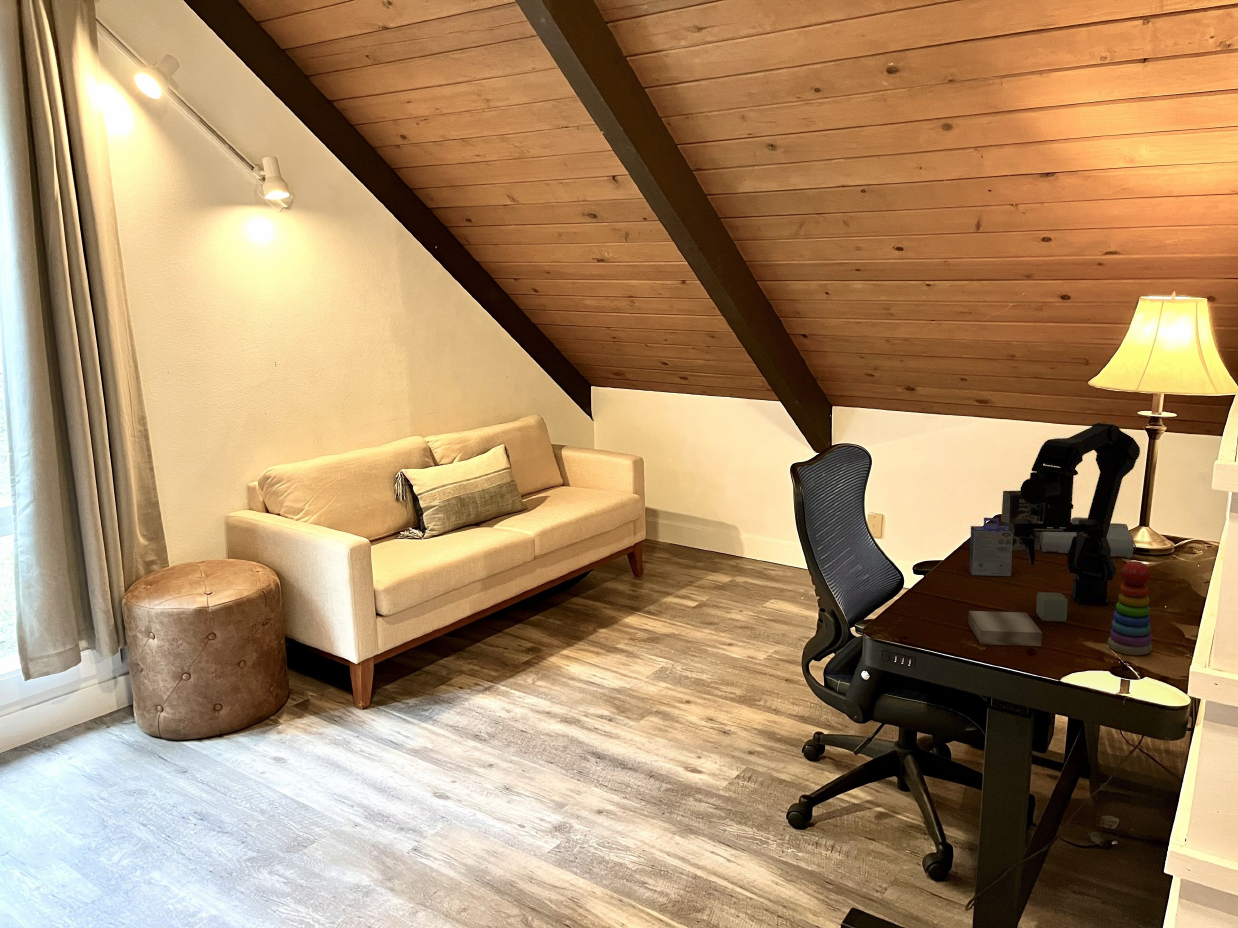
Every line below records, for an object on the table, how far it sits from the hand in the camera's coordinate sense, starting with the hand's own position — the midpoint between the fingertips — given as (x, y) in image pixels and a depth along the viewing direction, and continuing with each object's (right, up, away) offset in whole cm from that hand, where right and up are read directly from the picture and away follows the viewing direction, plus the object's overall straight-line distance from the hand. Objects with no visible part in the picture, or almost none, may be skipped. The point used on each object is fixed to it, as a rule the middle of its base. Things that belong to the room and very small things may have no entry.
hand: (1053, 565), depth 204 cm
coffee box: (+17, -1, +56) cm, 59 cm away
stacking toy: (+7, -15, -17) cm, 24 cm away
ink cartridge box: (0, -6, +34) cm, 35 cm away
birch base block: (-14, -14, -7) cm, 21 cm away
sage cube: (0, -12, +2) cm, 12 cm away
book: (+36, -2, +54) cm, 65 cm away
